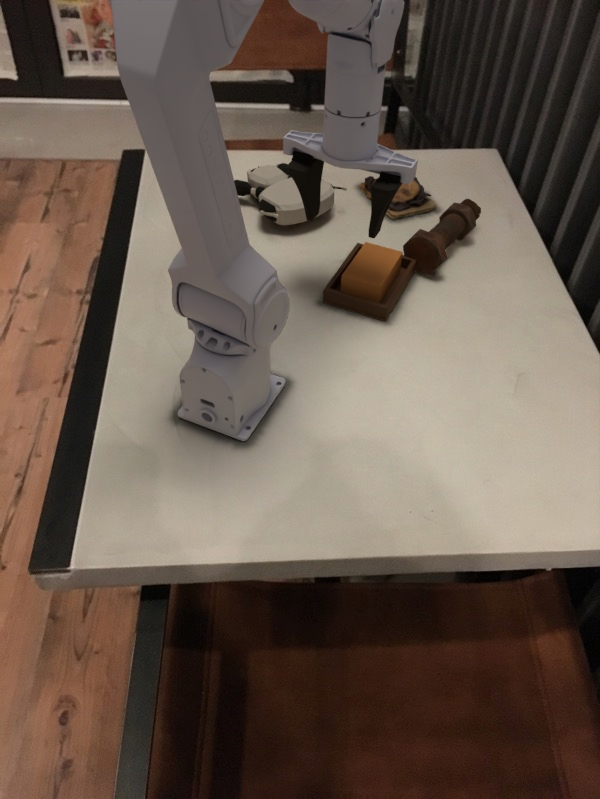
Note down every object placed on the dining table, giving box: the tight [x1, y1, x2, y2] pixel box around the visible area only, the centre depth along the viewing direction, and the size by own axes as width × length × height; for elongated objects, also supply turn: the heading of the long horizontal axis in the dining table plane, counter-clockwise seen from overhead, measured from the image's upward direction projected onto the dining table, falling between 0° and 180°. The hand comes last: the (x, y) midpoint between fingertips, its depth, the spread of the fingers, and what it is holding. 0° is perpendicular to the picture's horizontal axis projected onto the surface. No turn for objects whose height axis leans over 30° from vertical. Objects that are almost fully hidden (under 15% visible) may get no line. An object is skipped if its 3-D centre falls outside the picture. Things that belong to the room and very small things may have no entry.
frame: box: [322, 242, 417, 323], centre depth 85 cm, size 11×8×2 cm
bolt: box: [402, 198, 482, 275], centre depth 90 cm, size 6×5×15 cm
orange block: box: [340, 241, 404, 303], centre depth 84 cm, size 8×5×3 cm, turn 155°
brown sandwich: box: [359, 175, 437, 220], centre depth 100 cm, size 11×8×4 cm
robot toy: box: [234, 162, 348, 226], centre depth 97 cm, size 12×4×15 cm
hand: (343, 225), depth 78 cm, fingers open, 7 cm apart
